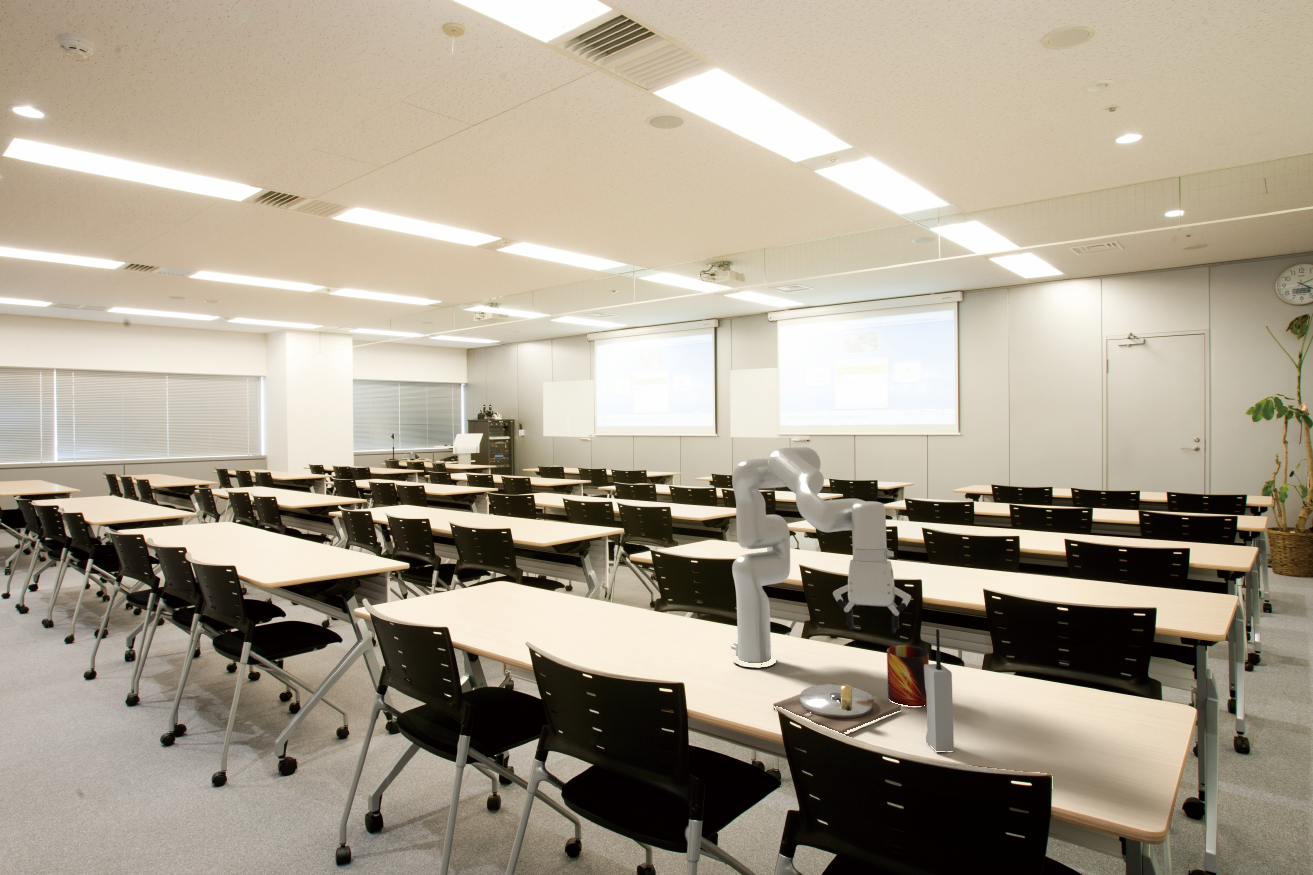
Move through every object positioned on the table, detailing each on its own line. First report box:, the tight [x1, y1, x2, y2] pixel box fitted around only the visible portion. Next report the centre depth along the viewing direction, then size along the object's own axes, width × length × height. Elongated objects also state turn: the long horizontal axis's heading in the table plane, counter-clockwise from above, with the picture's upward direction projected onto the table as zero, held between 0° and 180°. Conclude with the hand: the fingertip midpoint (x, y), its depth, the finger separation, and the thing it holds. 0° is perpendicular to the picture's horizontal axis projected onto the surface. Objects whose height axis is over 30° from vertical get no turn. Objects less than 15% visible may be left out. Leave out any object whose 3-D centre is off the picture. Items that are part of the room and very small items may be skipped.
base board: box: [773, 682, 902, 736], centre depth 163 cm, size 20×22×2 cm
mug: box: [886, 645, 930, 707], centre depth 167 cm, size 10×14×12 cm
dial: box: [799, 683, 874, 718], centre depth 163 cm, size 17×17×6 cm
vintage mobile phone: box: [924, 628, 955, 752], centre depth 143 cm, size 4×5×25 cm
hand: (872, 629), depth 157 cm, fingers open, 9 cm apart
